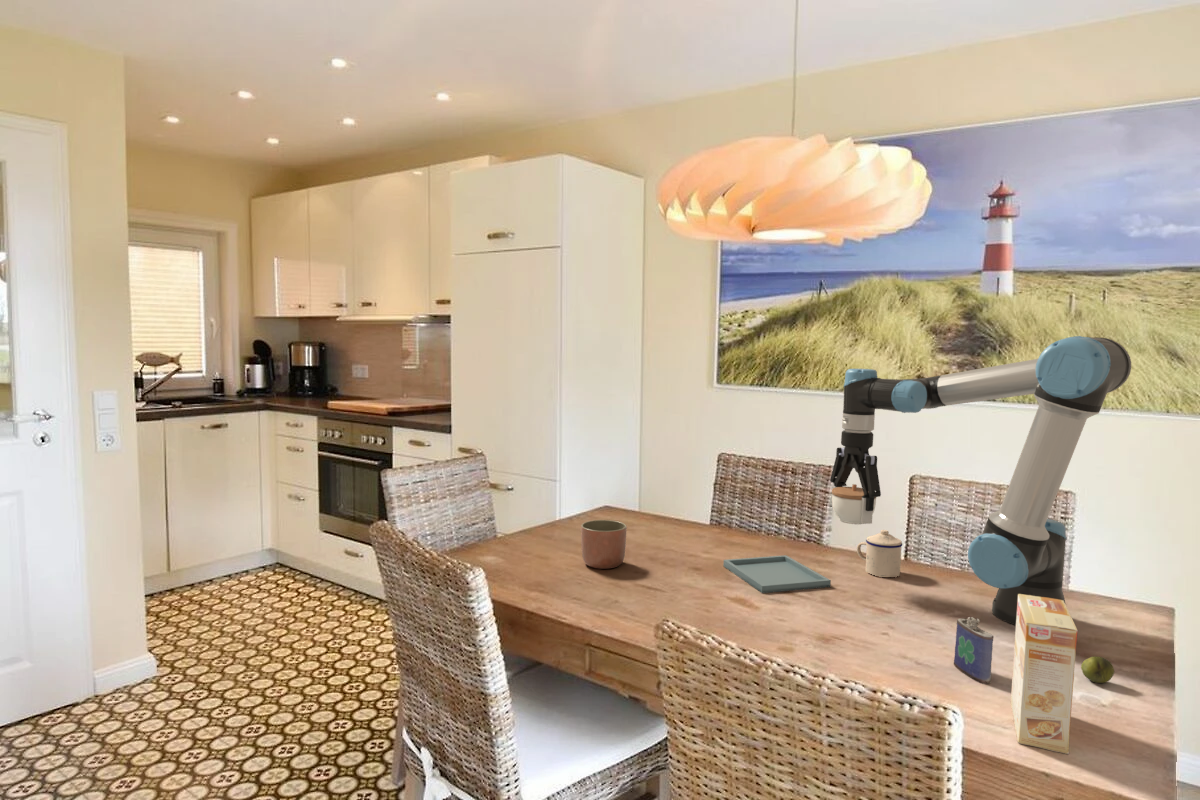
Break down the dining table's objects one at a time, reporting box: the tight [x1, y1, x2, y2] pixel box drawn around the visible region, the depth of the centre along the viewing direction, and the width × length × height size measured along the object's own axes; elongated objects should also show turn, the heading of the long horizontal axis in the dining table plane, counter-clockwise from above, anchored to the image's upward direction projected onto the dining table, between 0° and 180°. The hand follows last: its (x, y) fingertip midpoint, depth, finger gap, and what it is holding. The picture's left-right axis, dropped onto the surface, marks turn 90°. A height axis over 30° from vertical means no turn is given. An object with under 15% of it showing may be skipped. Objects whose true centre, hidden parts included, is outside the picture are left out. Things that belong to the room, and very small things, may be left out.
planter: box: [580, 519, 627, 570], centre depth 204 cm, size 12×12×11 cm
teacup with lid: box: [856, 529, 903, 578], centre depth 200 cm, size 12×9×12 cm
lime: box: [1080, 656, 1115, 684], centre depth 137 cm, size 4×5×5 cm
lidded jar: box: [831, 483, 877, 525], centre depth 188 cm, size 11×11×9 cm
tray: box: [722, 554, 831, 594], centre depth 196 cm, size 22×19×2 cm
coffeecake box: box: [1010, 594, 1078, 755], centre depth 120 cm, size 15×7×20 cm, turn 155°
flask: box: [953, 616, 994, 685], centre depth 140 cm, size 9×3×11 cm, turn 8°
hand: (852, 517), depth 188 cm, fingers closed on lidded jar, 11 cm apart
